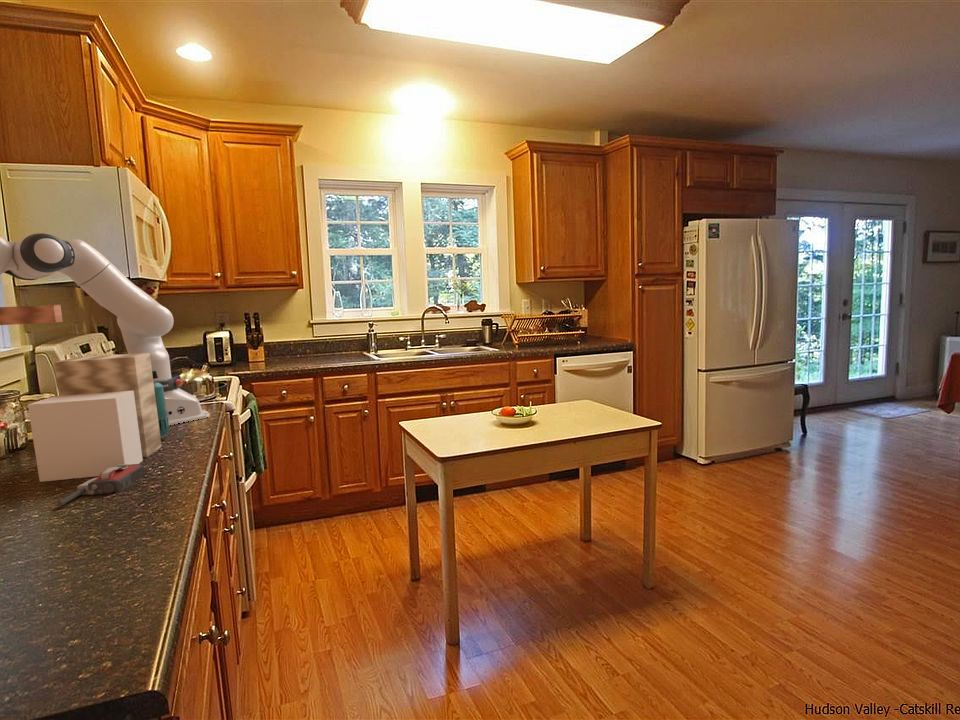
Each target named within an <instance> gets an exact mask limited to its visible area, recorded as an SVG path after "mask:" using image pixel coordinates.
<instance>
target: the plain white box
mask: <svg viewBox="0 0 960 720" xmlns="http://www.w3.org/2000/svg"><path fill="white" fill-rule="evenodd" d="M27 409H28V417H29V422H30V428H31V433H32V441H33V447H34V453H35V460H36V465H37V466H36V467H37V472H38V478H39V483H40V482H41V483H42V482H52V481H53V482H54V481H61V480H70V479H71V480H72V479H73V478H74V479H82V478H83V479H84V478H91V477H94V478H95V477H100V473H101V472H103V471H106V470H107V469H108V468H110V467H117V465H122V464H128V465H129V464H141V463H142V462H143V459H144V458H142V451H141V443H140V435H139V428H138V420H137V412H136V405H135V397H134V391H120V392H107V393H93V394H79V395H66V396H59V395H55V396H53V395H52V396H50V397H47V398H44V399H40V400H37V401H34V402H32V403H28V404H27Z"/></svg>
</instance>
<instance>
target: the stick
mask: <svg viewBox="0 0 960 720" xmlns="http://www.w3.org/2000/svg"><path fill="white" fill-rule="evenodd" d="M61 306H62V305H61V304H47V305H46V304H43V305H24V306H23V305H21V306H1V307H0V326H7V325H31V324H33V325H34V324H46V323H47V324H50V323H53V324H54V323H63V322H64V321H63V315H62V307H61Z"/></svg>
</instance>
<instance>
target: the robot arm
mask: <svg viewBox="0 0 960 720" xmlns="http://www.w3.org/2000/svg"><path fill="white" fill-rule="evenodd" d="M56 272H59V273H62V274H64V275H66V276H67V277H68V278H70V279H71V280H72V281H73V283H75V284H76V285H77V286H78V287H80V288H81V290H83V291H84V292H85V293H86V294H87V295H88V296H89V297H90V298H92V299H93V300H94V301H95V302H96V303H97V304H98V305H100V306H101V307H102V308H104V309H106V310H107V311H109V312H110V313H112V315H115V316H116V322H117V325H118V327H119V329H120V332H121V335H122V339H123V343H124V345H125V348H126V351H127V354H137V353H150V359H151V367H152V371H156V372H157V376H158V378H156V379H153V382H159V383H160V384H162V385H163V391H164V397H165V401H166V402H165V403H166V412H167V417H168V423H169V425H168V427H171V426H175V425H179V424H178V423H180V424H184V423H183V422H185V423H189V422H194V421H197V420H198V419H199V420H202V419H207V417H208V418H210V416H211V415H210V412H209V410H208V411H207V410H204V409H202V405H201V403H200V401H199V399H198V398H197V397H196V396H194V395H192V394H191V393H189V392H187V391H185V390H183V389H181V388H180V387H182V385H184V381H183V380H182V379H179V378H178V379H177V378H174V377H172V372H171V361H170V355H169V353H168V351H167V349H166V347H165V345H164V341H163V339H162V337H163V336H165V335H166V334H168V333H169V332H170V331H171V330H172V329H173V326H174V319H175V318H174V316H173V313H172V312H171V311H170V310H169V309H168V308H167V307H166V306H163V305H162V304H160V303H159V302H158V301H157V300H155V298H153V297H152V296H151V295H149V294H148V293H147V292H146V291H144V290H143V289H141V288H140V287H139V286H137V285H135V284H134V282H132V281H131V280H130V279H129V278H127V276H126V275H124V274H123V273H122V272H121V270H119V268H117V267H116V266H115V265H114V264H113V263H112V262H111V261H110V260H109V259H107V257H106V256H105V255H103V254H102V253H101V252H100V251H99V250H97V249H96V248H94V247H93V246H92V245H90V244H89V243H87V242H86V241H84V240H82V239H80V238H72V239H68V240H64V239H61V238H59V237H57V236H54V235H53V234H52V235H51V234H48V233H41V232H40V233H38V232H37V233H33V234H29V235H28V236H25V237H22V238H20V239H18V240H16V241H14V242H12V241H8V240H6V239H5V238H3V237H2V236H0V276H1V275H2V274H6V275H9V276H10V277H13V278H15V279H19V280H23V281H36V280H39V279H43V278H45V277H48V276H51V275H52V274H54V273H56ZM193 420H194V421H193ZM188 421H189V422H188ZM174 424H175V425H174ZM170 425H171V426H170Z"/></svg>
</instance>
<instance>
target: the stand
mask: <svg viewBox="0 0 960 720" xmlns="http://www.w3.org/2000/svg"><path fill="white" fill-rule="evenodd" d="M53 364H54V369H55V377H56V381H57V382H56V384H57V391H58V396H66V395H79V394H93V393H107V392H120V391H134V397H135V405H136V412H137V420H138V428H139V435H140V443H141V451H142V458H143V457H145V458H149V457H150V456H152V454H154V453H155V452H157V451H158V450H159V449H161V448H162V440H161V436H160V430H159V422H158V414H157V406H156V398H155V390H154V382H153V374H152V367H151V359H150V353H137V354H128V353H123V354H108V355H107V354H106V355H93V356H92V355H91V356H76V357H71V358H67V359H63V360H62V359H61V360H58V361H54V362H53ZM143 459H144V458H143Z"/></svg>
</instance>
